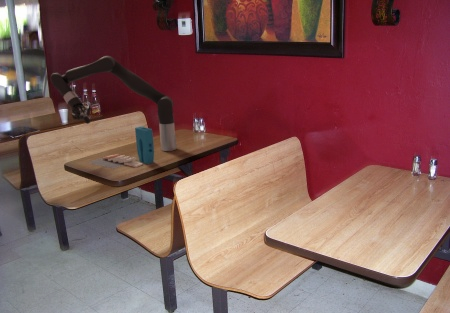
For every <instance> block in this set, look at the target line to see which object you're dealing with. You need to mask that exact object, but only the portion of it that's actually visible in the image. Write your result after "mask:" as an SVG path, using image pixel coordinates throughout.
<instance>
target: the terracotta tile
mask: <svg viewBox="0 0 450 313" xmlns="http://www.w3.org/2000/svg"><path fill="white" fill-rule="evenodd" d="M106 156H107V157H105V156H104V158H103V160H105V159H111V158H115V157H118V156H121V154H120V153H116V154H111V155H106Z"/></svg>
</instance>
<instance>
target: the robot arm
mask: <svg viewBox="0 0 450 313" xmlns="http://www.w3.org/2000/svg"><path fill="white" fill-rule="evenodd" d="M99 73H110V74H112V75H114V76H115V77H117V78H118V79H120V80H121V82H122V83H123V84H124V85H125V86H126V87H127V88H128V89H129V90H131V91H132V92H133V93H136V94H137V95H139V96H141V97H143V98H146V99H149V100H150V101H152V102H153V103H155V105H156V109H157V118H158V122H159V123H158V124H159V136H160V137H159V138H160V139H159V140H160V150H161V151H163V152H172V151H174V150H177V149H178V147H177V146H178V145H177V134H176V133H175V119H174V111H173V107H174V100H173V98H171V97H170V96H168V95H166V94H165V93H162V92H161V91H159V90H157V89H156V88H155V87H154V86H152V85H151V84H150V83H149V82H147V81H145V79H143V78H142V77H140V76H139V75H137V74H136V73H134V72H133V71H132V70H129V69H127V68H126V67H124V66H123V65H122V64H121V63H120V62H118V60H116V58H113V56H110V55H104V56H103V57H101V58H99V59H98V60H95V61H94V62H92V63H89V64H85V65H82V66H78V67H74V68H72V69H68V70H67V71H66V72H65V74H61V73H59V72H53V73H52V74H50V78H49V80H50V82H51V84H52V85H53V86H54V88H55V89H56V90H57V91H58V92H59V93H60V95H61V96H62V98H63V99H64V101H65V103H66V105H68V107H69V109H70V110H71V111H72V112H71V116H73V117H75V118H77V119H78V120H81V119H82V120H83V122H84V123H85V124H86V125H88V124H91V119H90V118H89V116H90V115H91V114H90V112H91V109H90V107H86V106H85V105H84V104H83V101H82V100H81V98H80V97H79V96H78V94H76V93H75V91H74V89H72V88H71V86H70V85H69V84H71V83H72V82H76V81H78V80H81V79H84V78H87V77H90V76H92V75H95V74H99Z"/></svg>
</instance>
